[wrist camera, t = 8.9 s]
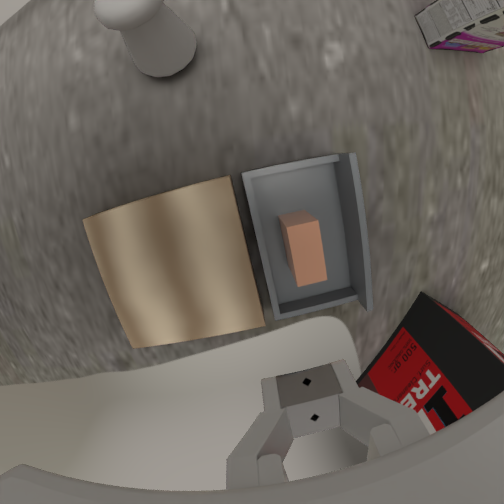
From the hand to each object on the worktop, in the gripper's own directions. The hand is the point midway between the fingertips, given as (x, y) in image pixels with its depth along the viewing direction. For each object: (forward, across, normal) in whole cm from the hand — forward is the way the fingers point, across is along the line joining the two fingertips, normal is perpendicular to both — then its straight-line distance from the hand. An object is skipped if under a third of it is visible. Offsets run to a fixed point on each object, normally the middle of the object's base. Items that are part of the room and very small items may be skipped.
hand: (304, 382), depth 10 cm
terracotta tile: (+16, -2, 0) cm, 16 cm away
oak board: (+19, +8, 0) cm, 21 cm away
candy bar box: (+19, -28, -21) cm, 40 cm away
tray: (+19, -4, 0) cm, 19 cm away
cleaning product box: (+19, -16, +20) cm, 31 cm away
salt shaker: (+19, +4, -20) cm, 28 cm away
